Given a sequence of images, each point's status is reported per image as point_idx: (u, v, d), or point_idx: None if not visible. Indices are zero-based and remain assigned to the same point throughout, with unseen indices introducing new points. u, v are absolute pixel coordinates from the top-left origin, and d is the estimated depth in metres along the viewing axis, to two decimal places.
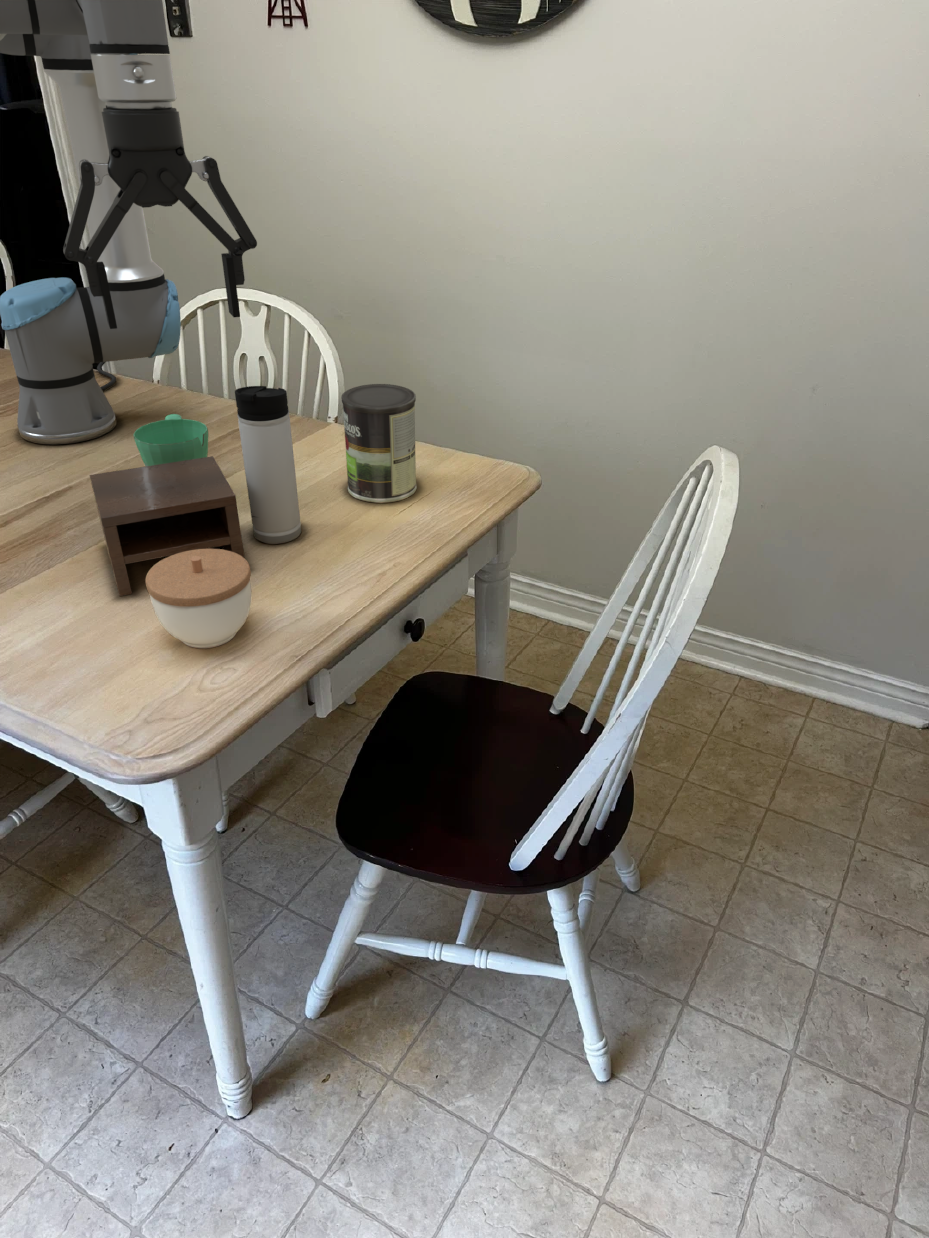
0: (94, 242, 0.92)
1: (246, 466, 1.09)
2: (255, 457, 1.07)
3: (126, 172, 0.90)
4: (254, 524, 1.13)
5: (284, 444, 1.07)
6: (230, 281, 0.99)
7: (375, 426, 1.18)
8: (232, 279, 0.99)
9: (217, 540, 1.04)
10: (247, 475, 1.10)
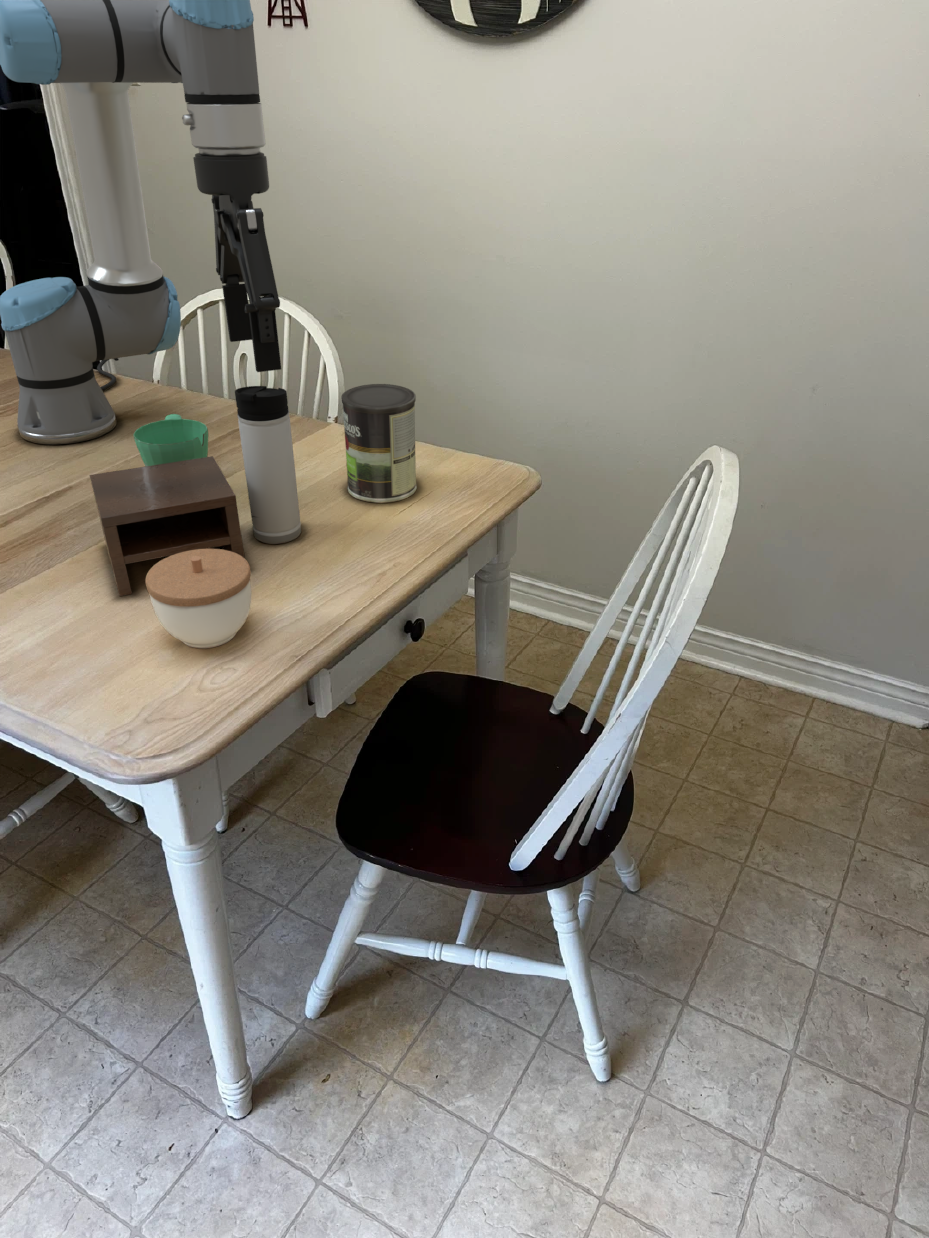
0: (221, 264, 1.03)
1: (246, 466, 1.09)
2: (255, 457, 1.07)
3: (222, 209, 0.96)
4: (254, 524, 1.13)
5: (284, 444, 1.07)
6: (252, 334, 0.95)
7: (375, 426, 1.18)
8: (252, 333, 0.95)
9: (217, 540, 1.04)
10: (247, 475, 1.10)
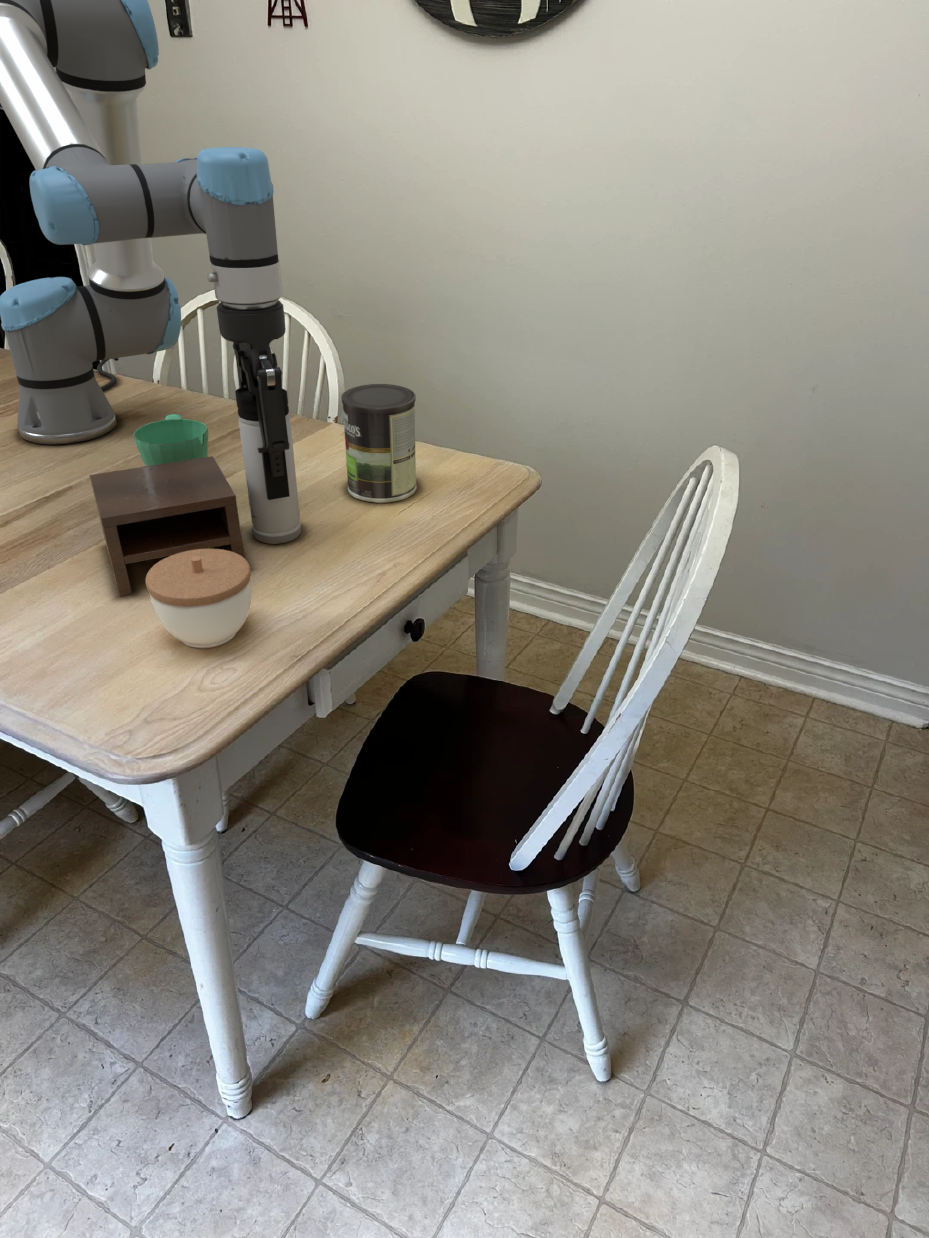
0: None
1: (246, 466, 1.09)
2: (255, 457, 1.07)
3: (241, 348, 1.04)
4: (254, 524, 1.13)
5: None
6: (264, 468, 1.07)
7: (375, 426, 1.18)
8: (264, 468, 1.07)
9: (217, 540, 1.04)
10: (247, 475, 1.10)
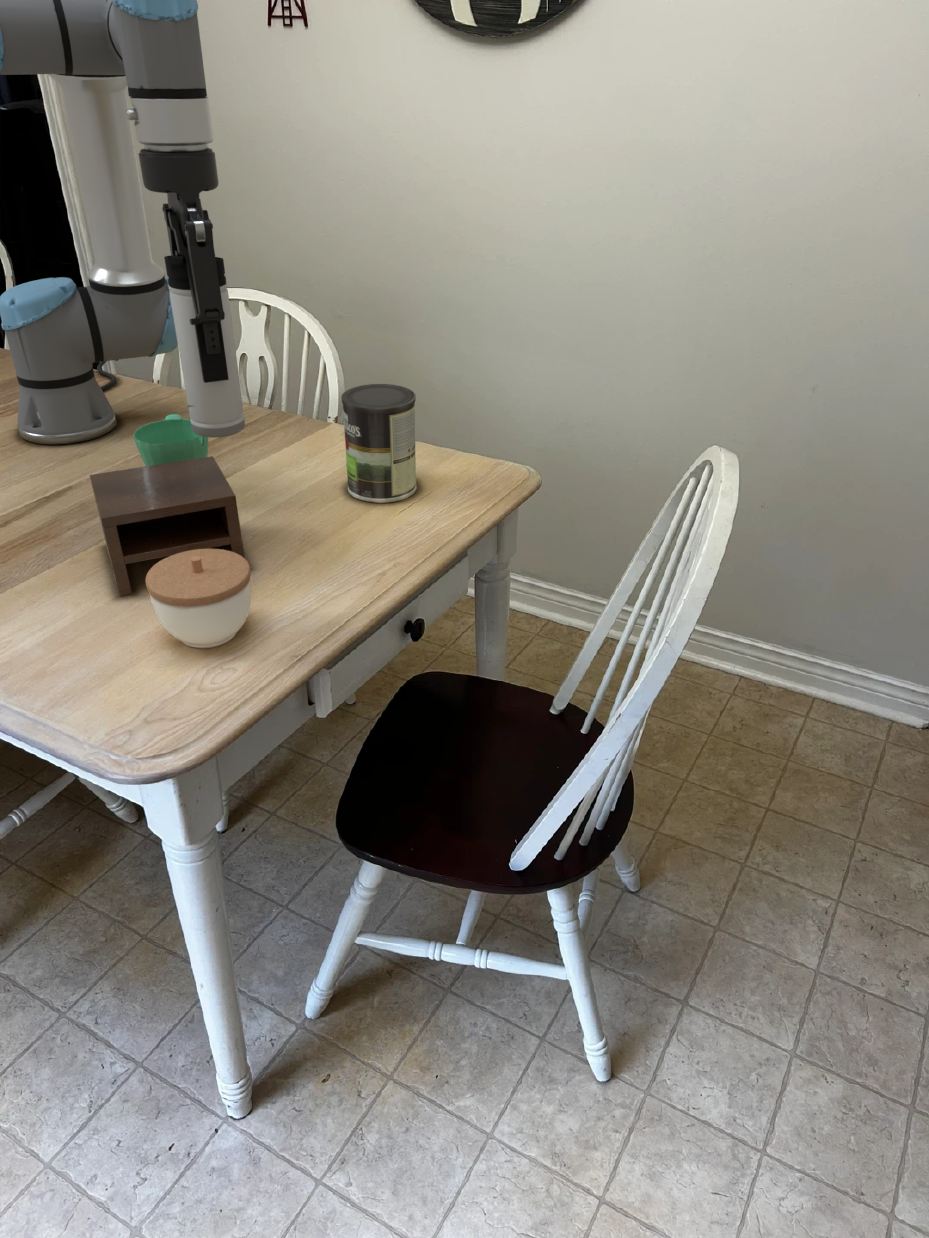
0: None
1: (180, 346, 0.98)
2: (189, 334, 0.96)
3: (170, 207, 0.93)
4: (191, 415, 1.02)
5: None
6: (198, 345, 0.96)
7: (375, 426, 1.18)
8: (198, 344, 0.96)
9: (217, 540, 1.04)
10: (181, 356, 0.99)
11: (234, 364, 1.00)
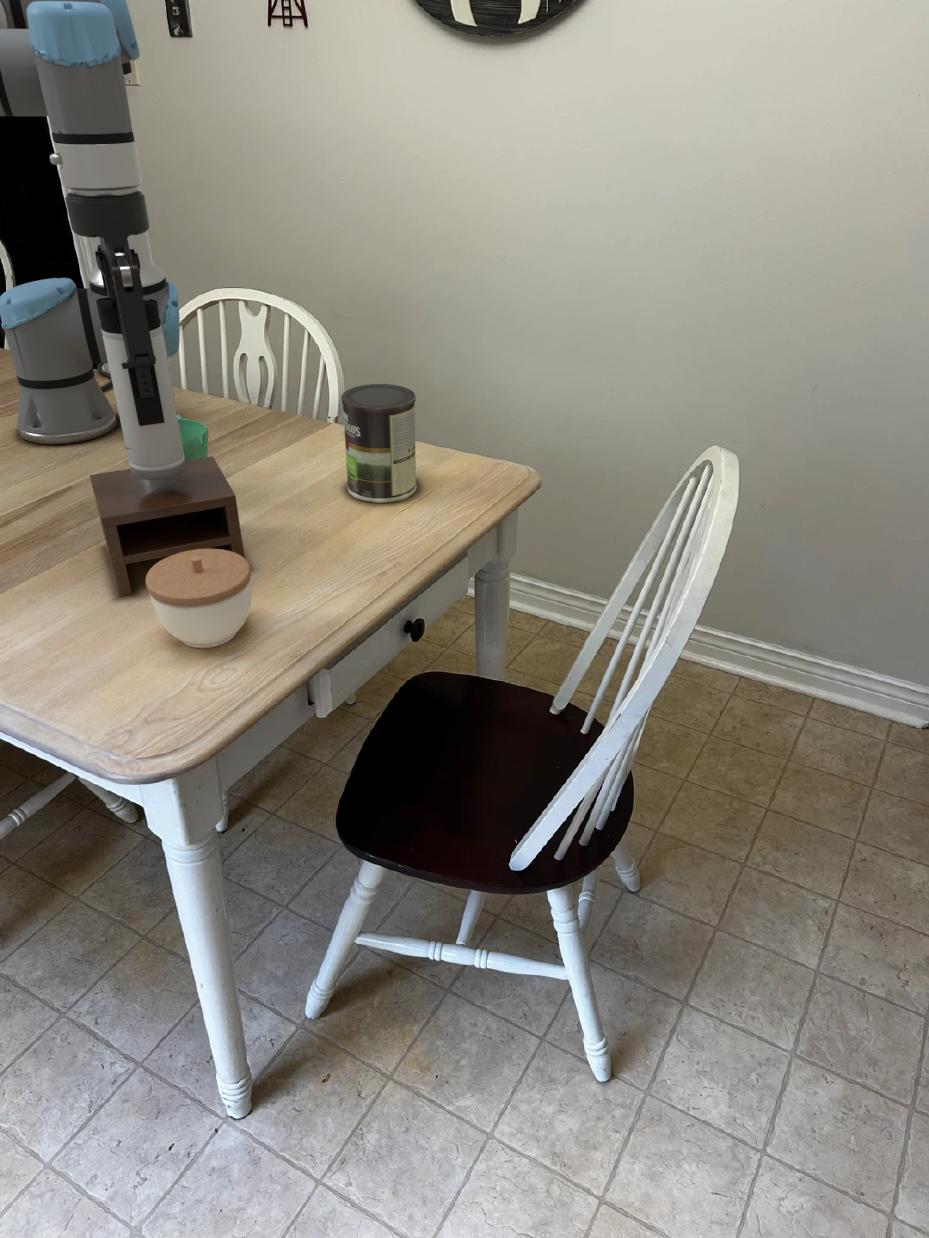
0: None
1: (115, 388, 0.96)
2: (122, 377, 0.94)
3: None
4: (129, 457, 1.01)
5: (156, 362, 0.95)
6: (132, 389, 0.94)
7: (375, 426, 1.18)
8: None
9: (217, 540, 1.04)
10: (116, 399, 0.97)
11: (171, 406, 0.99)
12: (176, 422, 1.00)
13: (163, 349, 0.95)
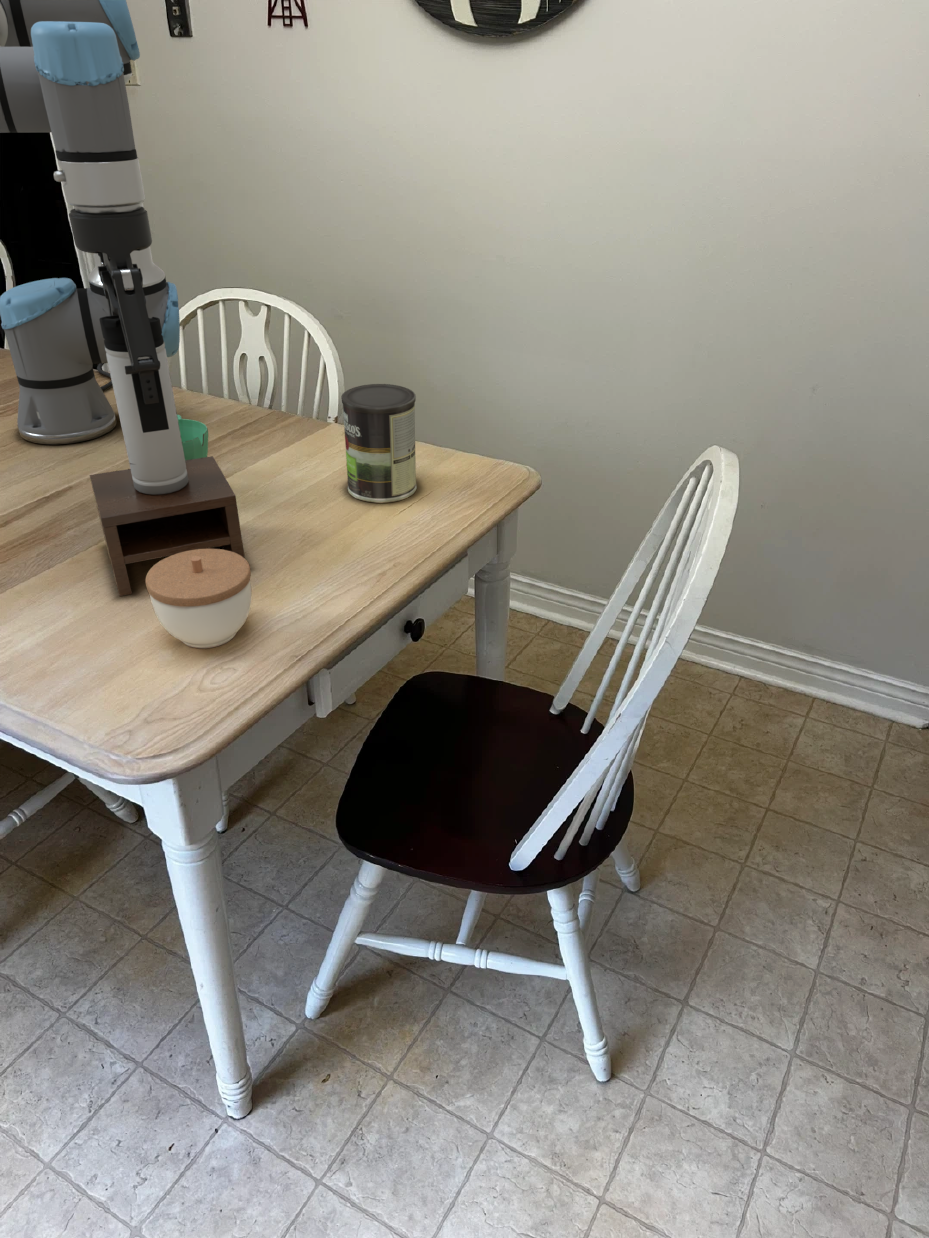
0: None
1: (118, 405, 0.97)
2: (125, 394, 0.95)
3: None
4: (132, 473, 1.02)
5: None
6: (135, 395, 0.92)
7: (375, 426, 1.18)
8: (135, 393, 0.92)
9: (217, 540, 1.04)
10: (119, 415, 0.98)
11: (174, 422, 1.00)
12: (179, 438, 1.01)
13: (166, 366, 0.97)
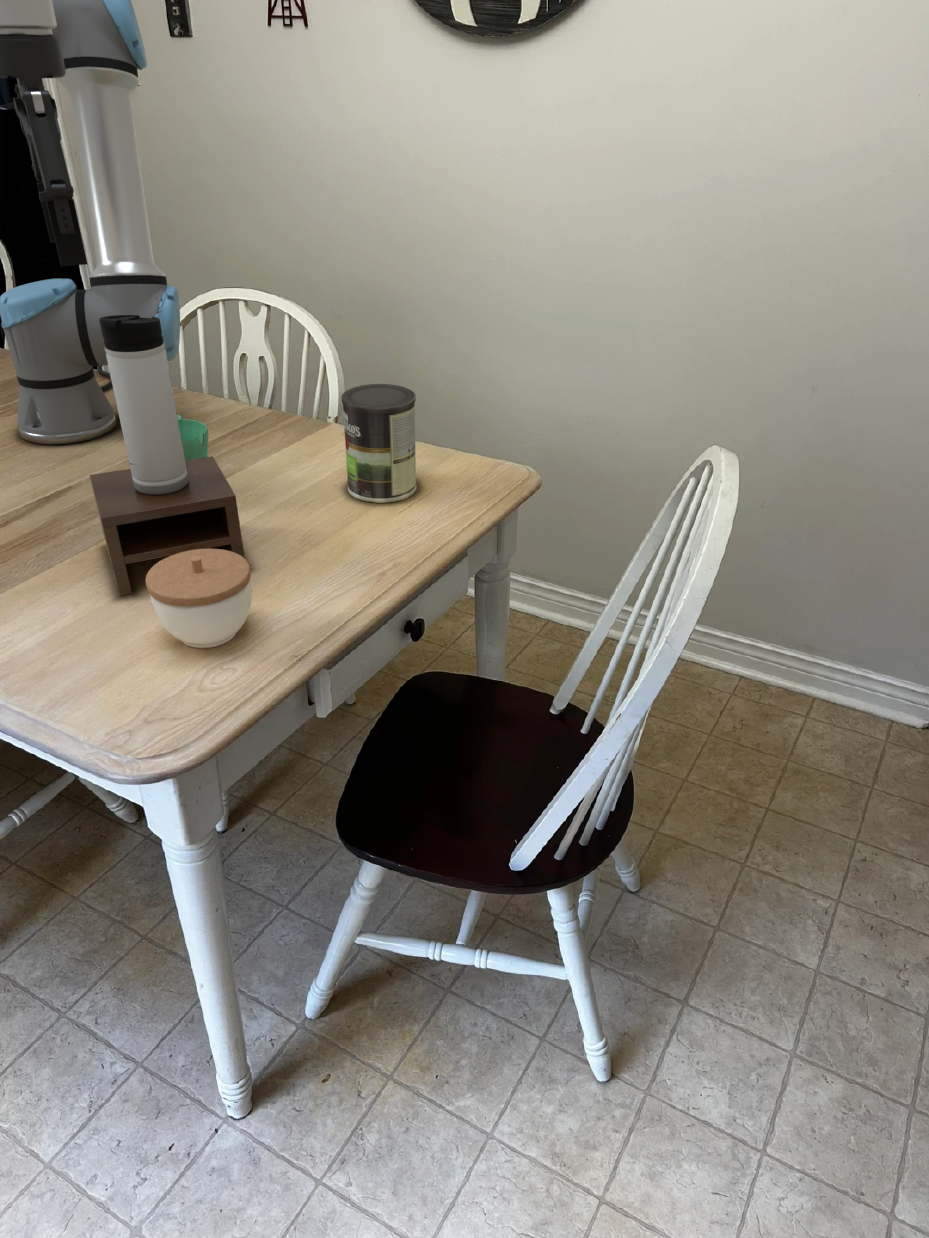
0: (33, 160, 1.01)
1: (118, 405, 0.97)
2: (125, 394, 0.95)
3: None
4: (132, 473, 1.02)
5: (159, 379, 0.96)
6: (52, 226, 0.93)
7: (375, 426, 1.18)
8: (51, 224, 0.93)
9: (217, 540, 1.04)
10: (119, 415, 0.98)
11: (174, 422, 1.00)
12: (179, 438, 1.01)
13: (166, 366, 0.97)
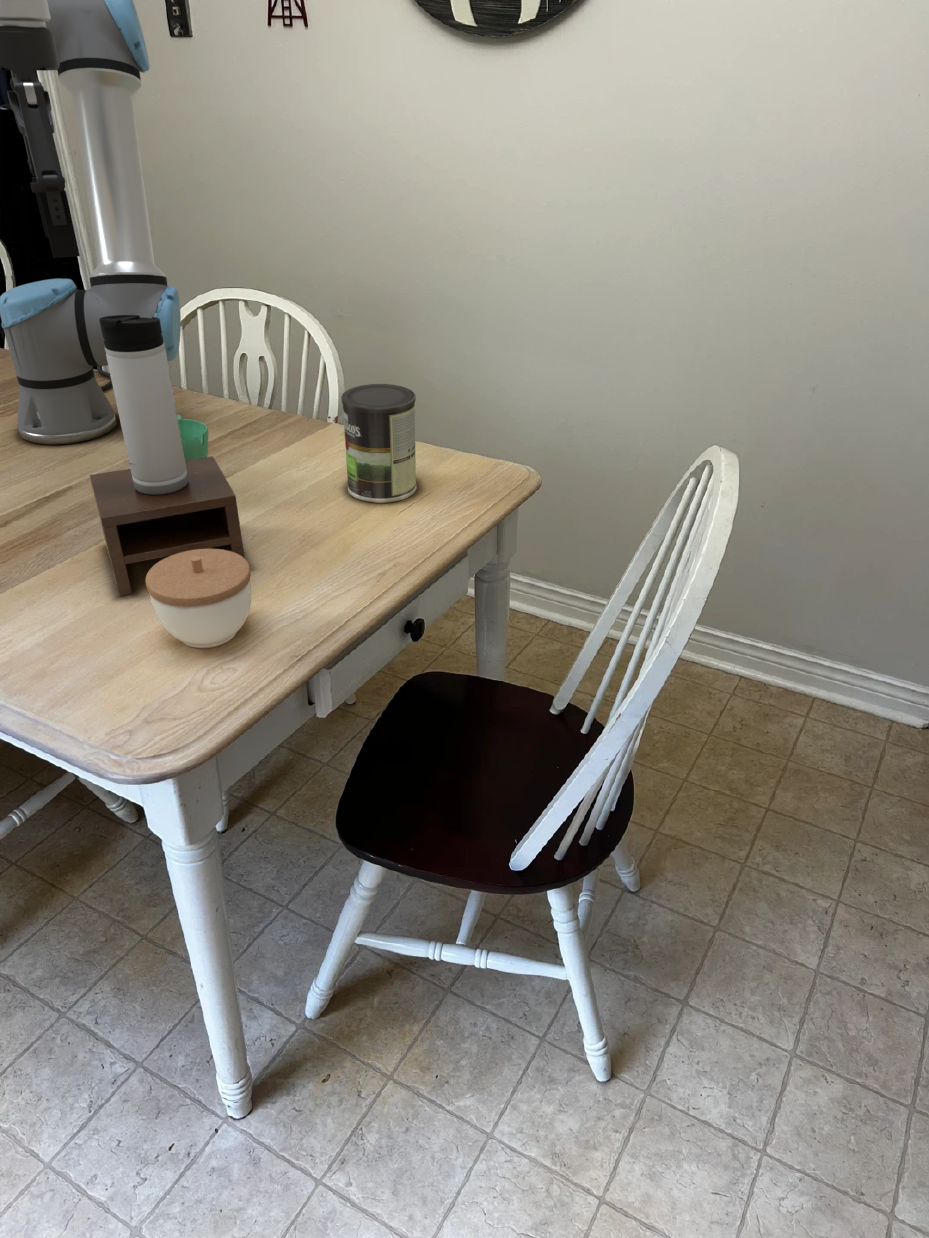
0: None
1: (118, 405, 0.97)
2: (125, 394, 0.95)
3: None
4: (132, 473, 1.02)
5: (159, 379, 0.96)
6: (44, 217, 0.94)
7: (375, 426, 1.18)
8: (43, 216, 0.93)
9: (217, 540, 1.04)
10: (119, 415, 0.98)
11: (174, 422, 1.00)
12: (179, 438, 1.01)
13: (166, 366, 0.96)
